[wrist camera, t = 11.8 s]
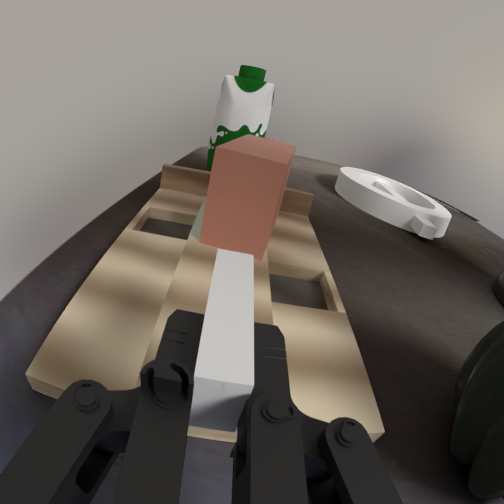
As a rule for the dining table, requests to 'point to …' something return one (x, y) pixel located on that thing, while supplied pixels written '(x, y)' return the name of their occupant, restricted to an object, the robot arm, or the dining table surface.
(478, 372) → the squash
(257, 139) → the brick
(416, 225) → the ring with crossbar
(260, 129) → the milk carton
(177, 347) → the robot arm
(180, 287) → the board
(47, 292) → the dining table surface
